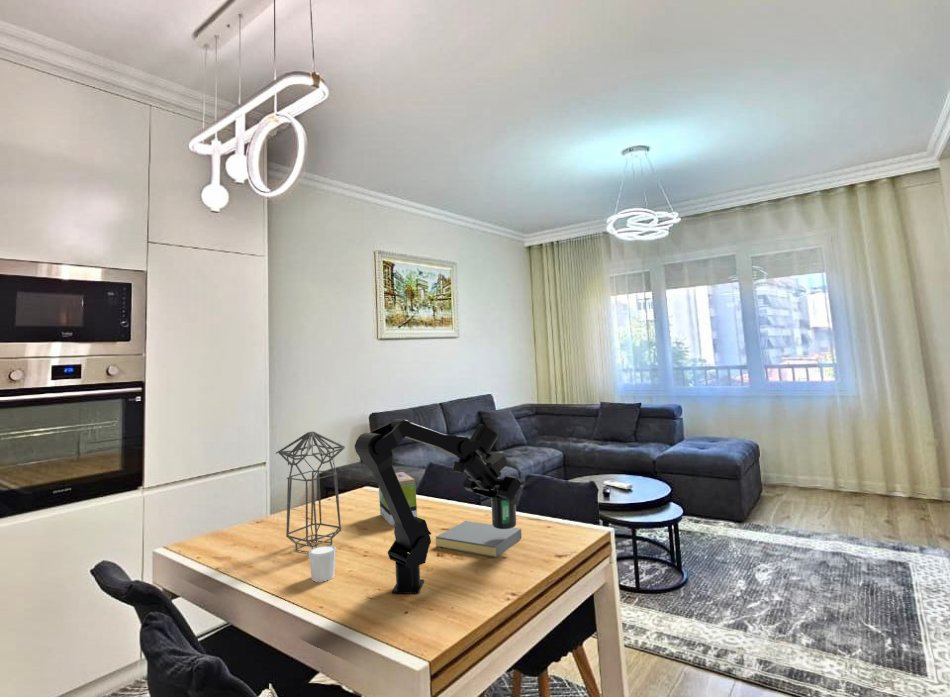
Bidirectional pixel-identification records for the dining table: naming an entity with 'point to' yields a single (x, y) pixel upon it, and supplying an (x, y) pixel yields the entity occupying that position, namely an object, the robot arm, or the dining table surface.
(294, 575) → the dining table surface
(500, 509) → the supplement bottle
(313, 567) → the white cylinder
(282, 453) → the geometric lantern
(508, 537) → the gray hardcover book
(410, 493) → the tea box
